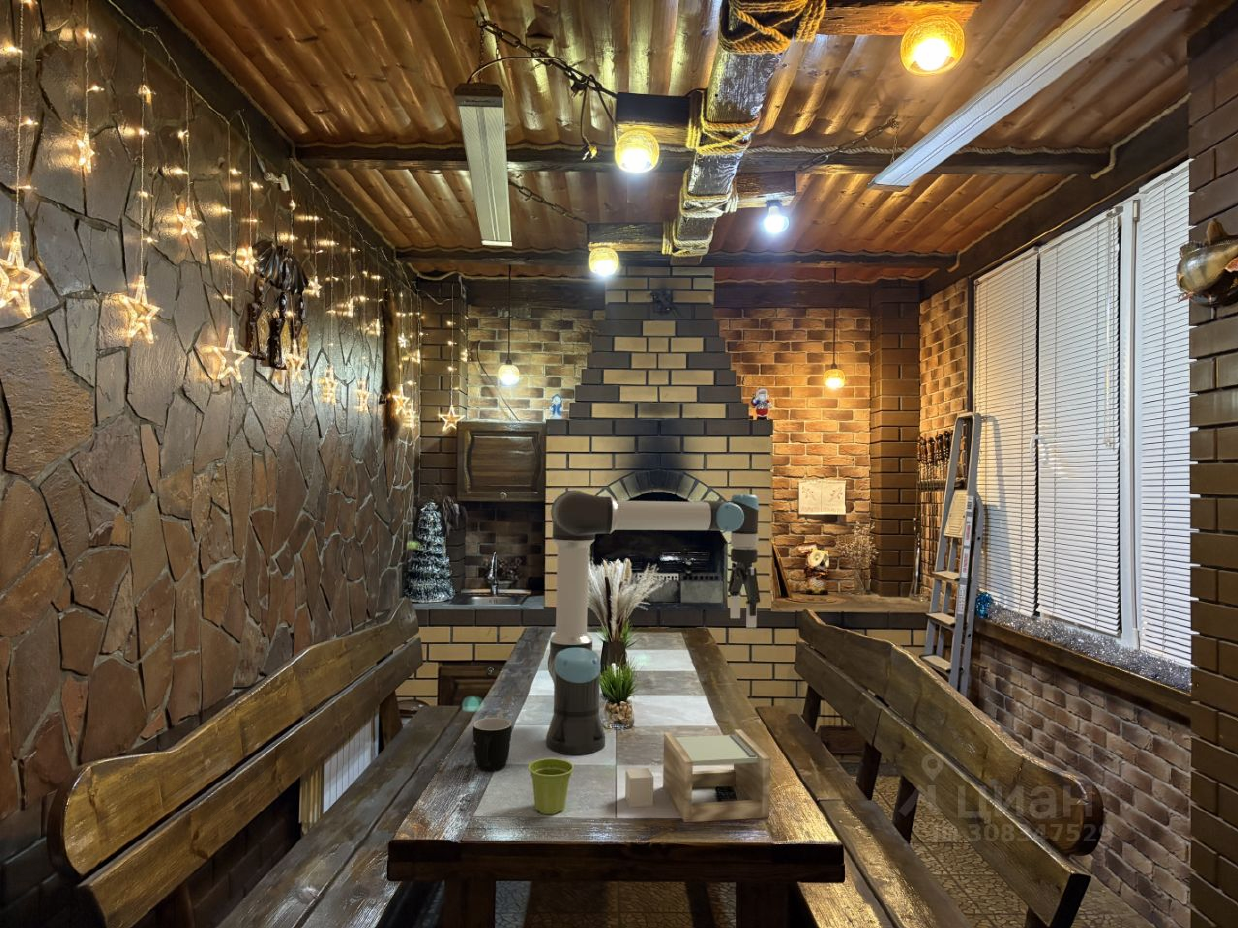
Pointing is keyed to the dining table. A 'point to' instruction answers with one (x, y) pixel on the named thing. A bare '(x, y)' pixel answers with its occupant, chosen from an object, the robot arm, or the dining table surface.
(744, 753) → the trapdoor
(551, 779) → the plant pot
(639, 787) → the beige block
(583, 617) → the robot arm
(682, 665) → the dining table surface
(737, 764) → the hatch frame
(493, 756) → the mug
